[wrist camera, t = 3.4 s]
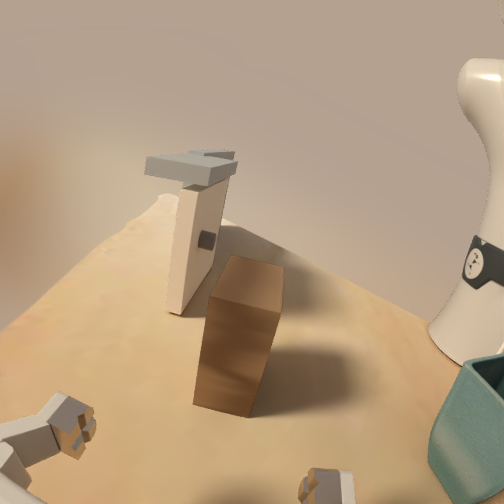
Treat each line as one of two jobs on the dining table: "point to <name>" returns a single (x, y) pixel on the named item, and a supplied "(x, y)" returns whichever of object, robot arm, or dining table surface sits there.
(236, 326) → the walnut block
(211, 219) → the door panel
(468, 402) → the flower pot
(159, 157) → the wall
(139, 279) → the dining table surface
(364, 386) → the dining table surface
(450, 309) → the robot arm
